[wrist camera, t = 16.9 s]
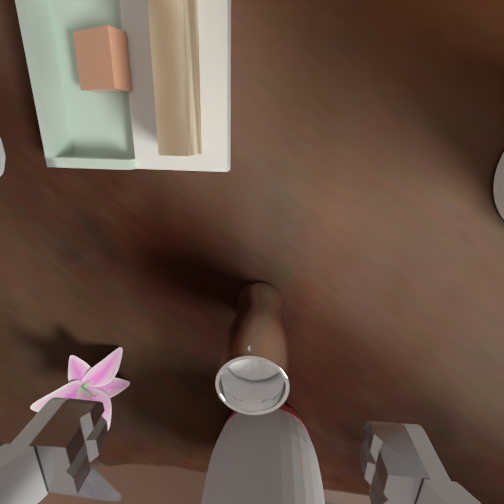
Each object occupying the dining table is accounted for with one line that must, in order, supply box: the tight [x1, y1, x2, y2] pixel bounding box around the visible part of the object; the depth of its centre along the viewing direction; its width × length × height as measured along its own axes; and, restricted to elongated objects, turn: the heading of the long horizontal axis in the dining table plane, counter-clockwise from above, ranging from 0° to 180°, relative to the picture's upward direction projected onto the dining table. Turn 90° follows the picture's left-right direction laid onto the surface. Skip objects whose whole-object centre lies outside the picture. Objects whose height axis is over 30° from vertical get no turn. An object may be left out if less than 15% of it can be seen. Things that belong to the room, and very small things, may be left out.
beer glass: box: [215, 282, 290, 415], centre depth 34 cm, size 7×7×15 cm
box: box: [15, 0, 136, 170], centre depth 31 cm, size 9×20×4 cm, turn 178°
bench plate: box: [120, 0, 231, 172], centre depth 31 cm, size 10×20×2 cm, turn 178°
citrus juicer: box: [201, 404, 325, 504], centre depth 39 cm, size 16×17×20 cm
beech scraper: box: [147, 0, 202, 156], centre depth 27 cm, size 2×16×6 cm, turn 178°
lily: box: [30, 347, 130, 429], centre depth 44 cm, size 12×12×10 cm
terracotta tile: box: [73, 25, 131, 93], centre depth 30 cm, size 5×5×2 cm
